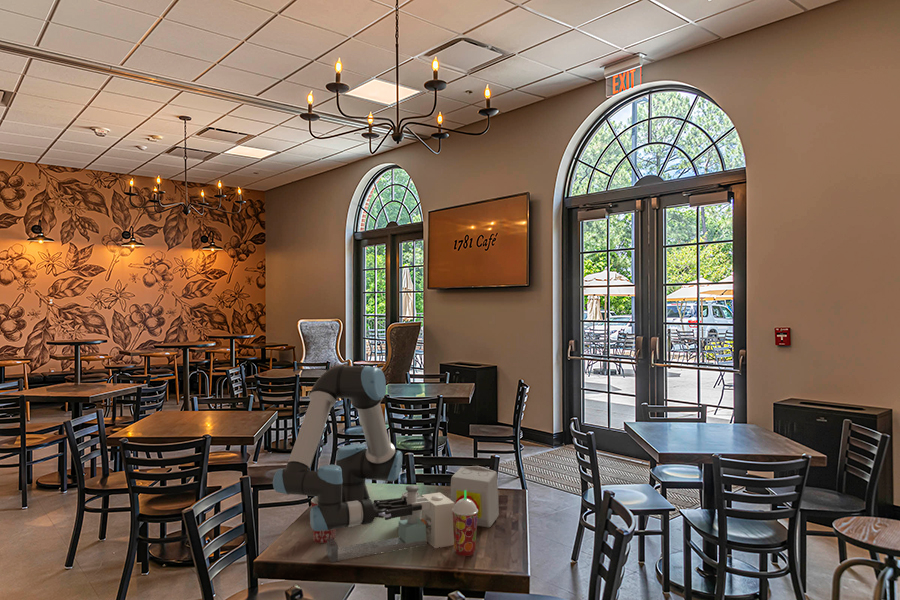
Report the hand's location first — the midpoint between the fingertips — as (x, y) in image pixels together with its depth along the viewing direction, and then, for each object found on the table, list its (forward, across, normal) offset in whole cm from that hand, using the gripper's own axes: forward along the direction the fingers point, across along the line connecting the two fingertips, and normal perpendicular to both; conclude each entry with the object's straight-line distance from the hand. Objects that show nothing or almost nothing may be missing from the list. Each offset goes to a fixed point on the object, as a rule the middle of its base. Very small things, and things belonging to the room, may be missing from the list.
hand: (427, 503), depth 200 cm
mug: (-30, -18, -13) cm, 38 cm away
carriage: (-5, 0, -11) cm, 12 cm away
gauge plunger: (+2, 0, -9) cm, 9 cm away
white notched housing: (+4, 0, -13) cm, 14 cm away
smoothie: (+8, +13, -13) cm, 20 cm away
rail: (-17, 0, -13) cm, 22 cm away
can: (0, -15, -13) cm, 20 cm away
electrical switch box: (+22, -9, -13) cm, 27 cm away
